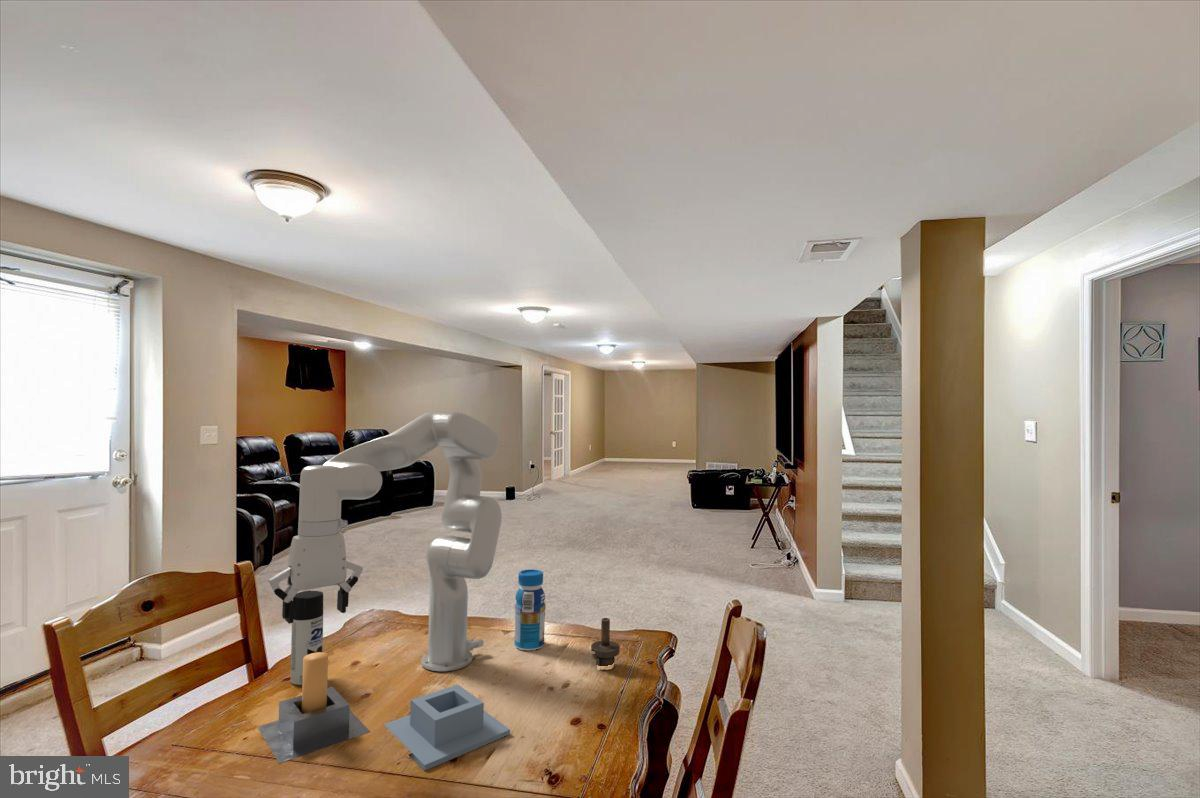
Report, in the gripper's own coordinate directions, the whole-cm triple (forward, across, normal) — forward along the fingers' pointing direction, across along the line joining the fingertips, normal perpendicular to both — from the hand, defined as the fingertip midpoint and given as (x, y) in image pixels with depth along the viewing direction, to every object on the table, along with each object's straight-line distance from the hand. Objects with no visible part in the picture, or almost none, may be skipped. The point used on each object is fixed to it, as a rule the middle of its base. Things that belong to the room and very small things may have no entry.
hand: (315, 616), depth 115 cm
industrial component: (+23, -64, +14) cm, 70 cm away
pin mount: (+23, 0, 0) cm, 23 cm away
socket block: (+23, -20, +16) cm, 34 cm away
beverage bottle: (+22, -58, -9) cm, 63 cm away
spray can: (+23, -6, -26) cm, 35 cm away
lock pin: (+22, 0, 0) cm, 22 cm away
